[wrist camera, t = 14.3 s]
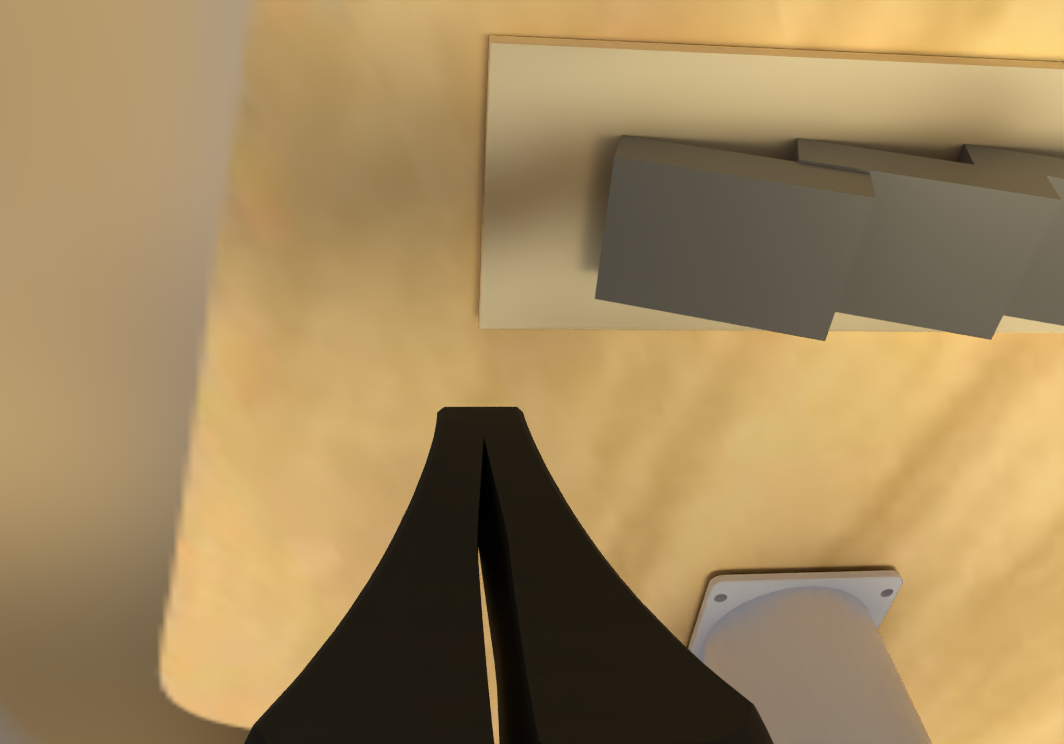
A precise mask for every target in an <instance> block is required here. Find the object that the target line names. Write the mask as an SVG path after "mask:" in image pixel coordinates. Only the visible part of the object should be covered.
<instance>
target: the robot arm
mask: <svg viewBox="0 0 1064 744" xmlns="http://www.w3.org/2000/svg"><path fill="white" fill-rule="evenodd" d="M478 547H479V554H480V561H481V568H482V576H483V583H484V590H485V597H486V605H487V612H488V619H489V626H490V633H491V640H492V647H493V655H494V662H495V671H496V682H497V696H498V719H499V741H500V744H932V742H931V740H930V738H929V736H928V734H927V732H926V730H925V728H924V725H923V723H922V721H921V719H920V717H919V715H918V713H917V711H916V709H915V707H914V705H913V703H912V700H911V698H910V696H909V694H908V692H907V690H906V688H905V686H904V684H903V682H902V680H901V678H900V675H899V673H898V671H897V669H896V667H895V665H894V663H893V661H892V659H891V657H890V655H889V653H888V651H887V648H886V646H885V644H884V642H883V640H882V638H881V636H880V634H879V632H878V630H877V629H878V628H879V626H880V624H881V622H882V620H883V618H884V617H885V615H886V613H887V611H888V609H889V607H890V606H891V604H892V602H893V600H894V598H895V596H896V595H897V593H898V591H899V589H900V587H901V585H902V583H903V580H902V578H901V576H900V574H899V572H897V571H893V570H881V571H844V572H807V573H771V574H734V575H718V576H716V577H714V578H713V579H711V580H710V582H709V584H708V587H707V590H706V593H705V596H704V600H703V603H702V606H701V609H700V612H699V615H698V618H697V622H696V625H695V628H694V631H693V634H692V637H691V640H690V644H689V647H688V648H687V647H685V646H684V645H683V644H682V643H681V642H680V641H679V640H678V639H677V638H676V637H675V636H674V635H673V634H672V633H671V632H670V631H669V630H668V629H667V628H666V627H665V626H664V625H663V624H662V623H661V622H660V621H659V620H658V619H657V618H656V616H655V615H654V614H653V613H652V612H651V611H650V610H649V609H648V608H647V607H646V606H645V605H644V604H643V603H642V602H641V601H640V600H639V599H638V598H637V596H636V595H635V594H634V593H633V592H632V591H631V589H630V588H629V587H628V586H627V585H626V584H625V582H624V581H623V580H622V579H621V578H620V577H619V575H618V574H617V573H616V571H615V570H614V569H613V568H612V566H611V565H610V564H609V563H608V561H607V560H606V559H605V558H604V556H603V555H602V554H601V552H600V551H599V550H598V548H597V547H596V545H595V544H594V543H593V541H592V540H591V538H590V537H589V536H588V534H587V533H586V531H585V530H584V528H583V527H582V525H581V524H580V522H579V521H578V519H577V518H576V516H575V515H574V513H573V512H572V510H571V508H570V507H569V505H568V504H567V502H566V500H565V499H564V497H563V495H562V493H561V492H560V490H559V488H558V486H557V485H556V483H555V481H554V480H553V478H552V476H551V474H550V472H549V471H548V469H547V467H546V465H545V463H544V461H543V459H542V457H541V455H540V453H539V451H538V449H537V447H536V445H535V442H534V440H533V438H532V436H531V433H530V431H529V428H528V426H527V423H526V421H525V418H524V414H523V412H522V411H521V410H520V409H519V408H518V407H444V408H442V409H441V410H440V411H439V412H437V423H436V428H435V433H434V438H433V442H432V445H431V449H430V452H429V455H428V458H427V461H426V464H425V467H424V469H423V472H422V475H421V477H420V480H419V482H418V485H417V487H416V490H415V492H414V495H413V497H412V499H411V502H410V504H409V506H408V508H407V510H406V512H405V514H404V516H403V518H402V521H401V523H400V525H399V527H398V529H397V531H396V533H395V535H394V537H393V539H392V541H391V543H390V544H389V546H388V548H387V550H386V552H385V554H384V555H383V557H382V559H381V561H380V562H379V564H378V566H377V567H376V569H375V571H374V572H373V574H372V576H371V577H370V579H369V581H368V582H367V584H366V585H365V587H364V588H363V590H362V591H361V593H360V594H359V596H358V598H357V599H356V601H355V602H354V604H353V605H352V607H351V608H350V610H349V611H348V613H347V614H346V615H345V617H344V618H343V620H342V621H341V622H340V624H339V625H338V626H337V628H336V629H335V631H334V632H333V633H332V634H331V636H330V637H329V638H328V639H327V641H326V642H325V643H324V645H323V646H322V647H321V648H320V650H319V651H318V652H317V653H316V655H315V656H314V657H313V658H312V660H311V661H310V662H309V663H308V665H307V666H306V667H305V669H304V670H303V671H302V672H301V673H300V674H299V676H298V677H297V678H296V679H295V680H294V681H293V683H292V684H291V685H290V686H289V687H288V688H287V689H286V690H285V691H284V692H283V693H282V695H281V696H280V697H279V698H278V699H277V700H276V701H275V702H274V703H273V704H272V705H271V706H270V708H269V709H268V710H267V711H266V712H265V713H264V714H263V715H262V716H261V717H260V718H259V720H258V721H257V722H256V723H255V724H254V725H253V727H252V729H251V731H250V733H249V735H248V737H247V739H246V741H245V743H244V744H494V738H493V729H492V719H491V709H490V699H489V689H488V679H487V667H486V656H485V644H484V633H483V620H482V606H481V593H480V579H479V564H478Z"/></svg>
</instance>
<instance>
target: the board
mask: <svg viewBox="0 0 1064 744" xmlns="http://www.w3.org/2000/svg"><path fill="white" fill-rule="evenodd" d="M622 135H628V136H634V137H641V138H647V139H654V140H660V141H666V142H673V143H679V144H686V145H692V146H698V147H705V148H711V149H718V150H724V151H731V152H737V153H743V154H750V155H756V156H763V157H769V158H775V159H782V160H788V161H791V159H792V156H793V152H794V149H795V145H796V141H797V138H801V139H807V140H814V141H820V142H827V143H834V144H840V145H847V146H854V147H860V148H867V149H874V150H880V151H887V152H893V153H900V154H907V155H913V156H920V157H927V158H933V159H940V160H946V161H953V162H957V160H958V158H959V155H960V153H961V151H962V148H963V146H964V144H969V145H975V146H982V147H989V148H996V149H1002V150H1009V151H1016V152H1023V153H1029V154H1036V155H1043V156H1049V157H1056V158H1063V159H1064V62H1049V61H1028V60H1007V59H986V58H964V57H943V56H922V55H901V54H879V53H858V52H837V51H816V50H794V49H773V48H752V47H731V46H710V45H688V44H667V43H646V42H625V41H603V40H582V39H561V38H540V37H519V36H497V35H489V56H488V82H487V108H486V135H485V161H484V187H483V214H482V240H481V266H480V293H479V329H588V330H727V331H767V330H762V329H756V328H751V327H745V326H740V325H734V324H729V323H724V322H718V321H713V320H707V319H702V318H696V317H691V316H685V315H680V314H675V313H669V312H664V311H658V310H653V309H647V308H642V307H636V306H631V305H625V304H620V303H615V302H609V301H604V300H598V299H595V292H596V285H597V278H598V271H599V264H600V256H601V249H602V242H603V235H604V228H605V220H606V213H607V206H608V199H609V192H610V185H611V177H612V170H613V163H614V156H615V153H616V151H617V148H618V146H619V143H620V140H621V138H622ZM829 331H867V332H945V331H940V330H934V329H928V328H923V327H917V326H911V325H906V324H900V323H894V322H889V321H883V320H878V319H872V318H866V317H861V316H855V315H849V314H844V313H838V312H835V314H834V317H833V320H832V323H831V326H830V328H829ZM995 332H1006V333H1064V326H1061V325H1056V324H1050V323H1044V322H1038V321H1033V320H1027V319H1021V318H1015V317H1010V316H1004V315H1003V317H1002V319H1001V321H1000V323H999V325H998V327H997V329H996V331H995Z"/></svg>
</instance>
